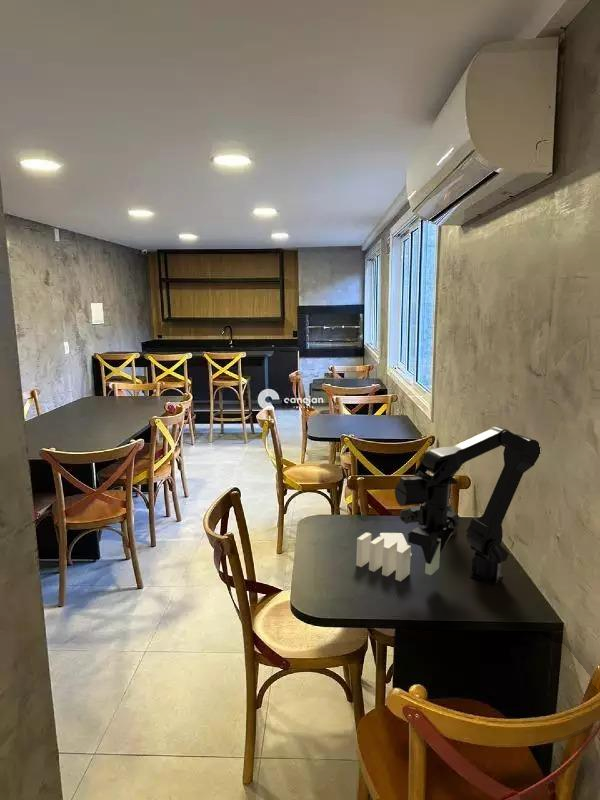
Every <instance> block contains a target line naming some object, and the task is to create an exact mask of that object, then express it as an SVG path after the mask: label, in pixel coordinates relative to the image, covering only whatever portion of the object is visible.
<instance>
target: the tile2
mask: <svg viewBox="0 0 600 800" xmlns="http://www.w3.org/2000/svg"><path fill="white" fill-rule="evenodd" d="M411 550H412V545H409V544H407V545H406V544H405V545H404V546H403V547H401V548H400V549H399V550H397V556H396V570H395V579H394V580H397V581H398V582H402V581H403V580H405V579H406V578H407V577H408V576H409V575H410V572H411V557H412V556H411V554H412V551H411Z"/></svg>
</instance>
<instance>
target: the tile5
mask: <svg viewBox="0 0 600 800" xmlns="http://www.w3.org/2000/svg"><path fill="white" fill-rule="evenodd" d="M372 535H373V534H372V533H370V532H366V531H365V532H364V533H363V534H361V535H360V536H359V537H357V538H356V560H355V561H356V562H355V563H356V565H355V566H357V567H359V568H362V567H364V566H365V565H366V564H369V555H370V542H371V541H372Z"/></svg>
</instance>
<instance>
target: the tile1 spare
mask: <svg viewBox="0 0 600 800" xmlns="http://www.w3.org/2000/svg"><path fill="white" fill-rule="evenodd" d="M437 541H440V544H441V538H437ZM440 544H439V546H438V549H437V551H436V553H435V556H434V558H433V560H432V562H431V564H428V563H426V562H425V566H424V567H425V568H424V574H426V575H429V576H432V575H433V574H435V572H436V571H438V569H439V568H440V560H441V559H440V557H441V556H440V555H441V554H440Z"/></svg>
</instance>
